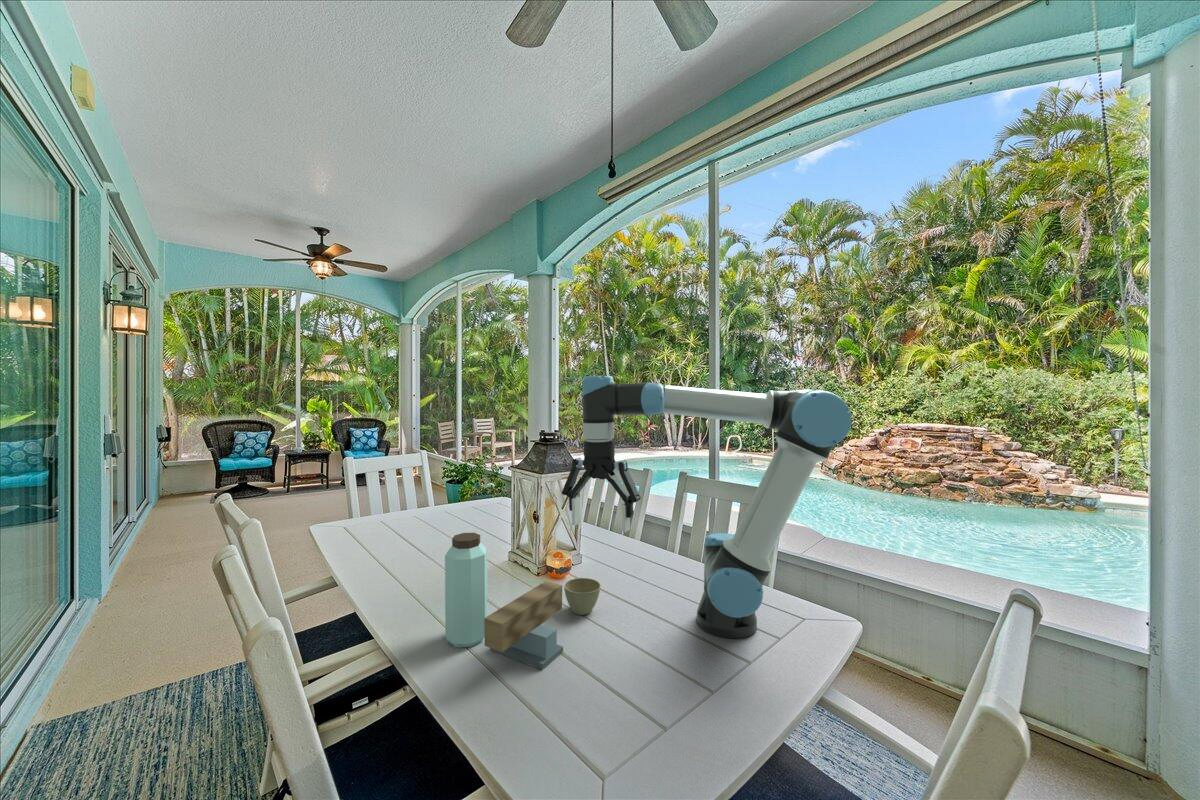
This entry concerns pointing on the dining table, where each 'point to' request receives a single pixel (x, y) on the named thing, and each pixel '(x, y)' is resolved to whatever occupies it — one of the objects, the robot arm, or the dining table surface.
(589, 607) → the flower pot
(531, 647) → the ridge
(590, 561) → the dining table surface
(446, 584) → the water bottle
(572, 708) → the dining table surface
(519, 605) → the walnut bar
